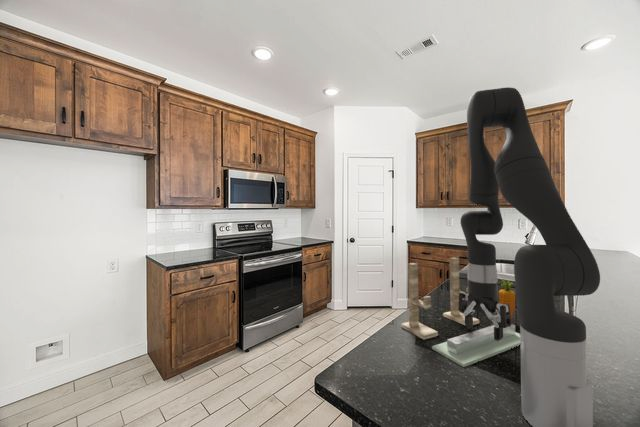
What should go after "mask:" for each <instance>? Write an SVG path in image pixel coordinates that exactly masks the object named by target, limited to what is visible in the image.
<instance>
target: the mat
mask: <svg viewBox="0 0 640 427" xmlns="http://www.w3.org/2000/svg"><path fill="white" fill-rule="evenodd" d="M519 345H520V332H517V331H515V335H514V336H511V337H508V338H505V339H502V340H499V341H496V342H494V343H491V344H488V345H485V346H482V347H479V348H477V349H474V350H471V351H468V352H465V353H462V354H460V355H455V354H453V353H452V352H450V351H448V350H447V341H444V342H441V343H438V344H435V345H432V346H431V349H432V350H433V351H435V352H436V353H438V354H440V355H442V356H443V357H445V358H447V359H449V360H451V361H452V362H454V363H455V364H457V365H459V366H461V367H462V368H465V367H468V366H471V365H473V364H475V363H478V361H479V362H481V361H483V360H486V359H489V358H492V357H494V356H497V355H499V354H502V353H504V352H506V351H509V350H511V348H512V349H514V347H515V348H517V347H519ZM516 346H517V347H516Z"/></svg>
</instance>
